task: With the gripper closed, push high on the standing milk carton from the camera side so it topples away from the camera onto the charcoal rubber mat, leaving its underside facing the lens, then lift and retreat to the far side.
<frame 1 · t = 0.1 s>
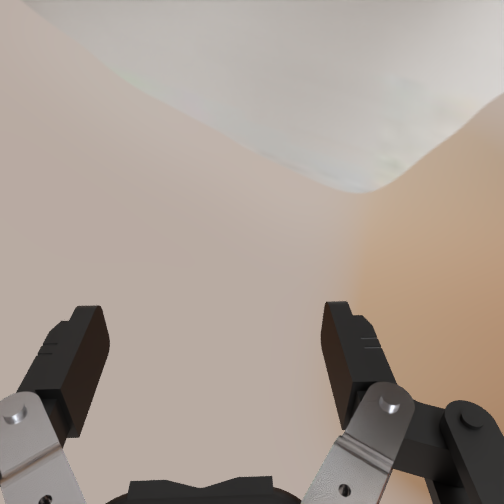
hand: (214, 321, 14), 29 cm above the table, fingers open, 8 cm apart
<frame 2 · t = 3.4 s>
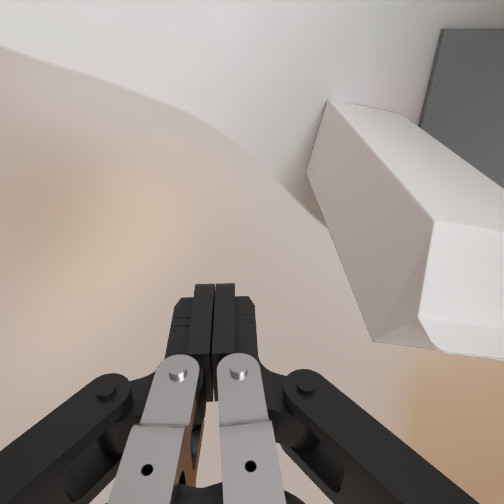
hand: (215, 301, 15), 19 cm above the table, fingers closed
milk: (351, 143, 31), on the table
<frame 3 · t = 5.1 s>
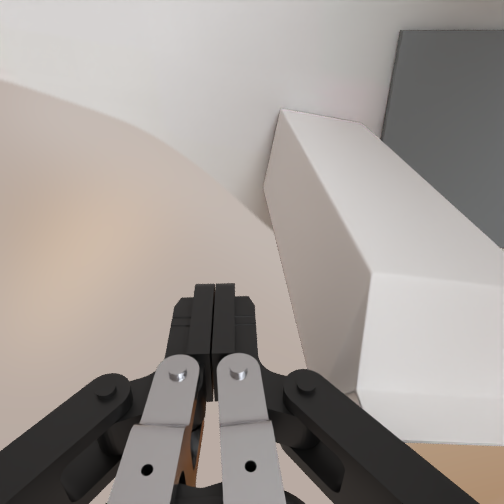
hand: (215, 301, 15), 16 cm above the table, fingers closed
milk: (310, 155, 29), on the table, touching hand
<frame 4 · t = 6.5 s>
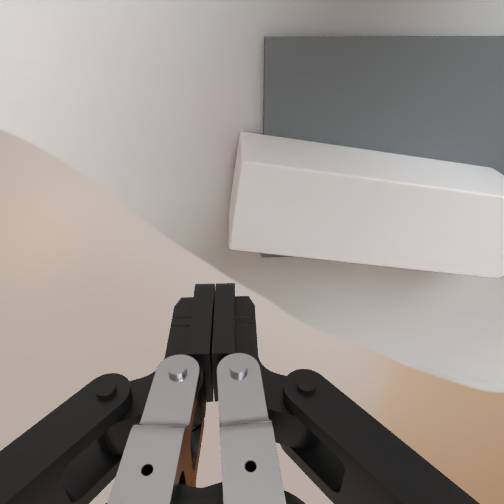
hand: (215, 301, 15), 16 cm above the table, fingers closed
milk: (231, 187, 26), point 3 cm above the table, touching mat
mat: (405, 159, 29), on the table
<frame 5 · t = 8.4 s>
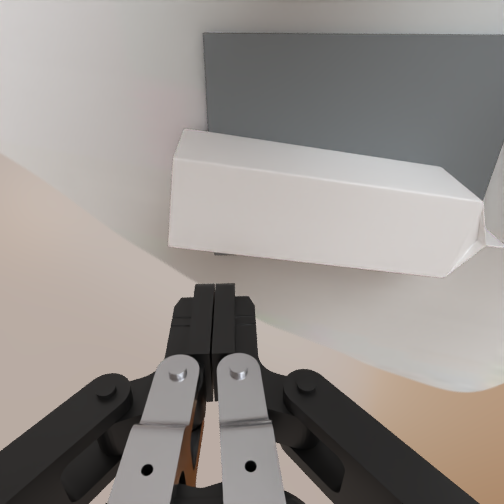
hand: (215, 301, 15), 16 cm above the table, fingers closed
milk: (172, 184, 26), point 3 cm above the table, touching mat
mat: (353, 158, 29), on the table
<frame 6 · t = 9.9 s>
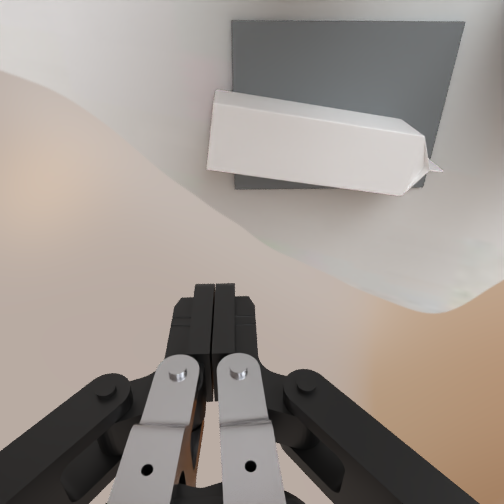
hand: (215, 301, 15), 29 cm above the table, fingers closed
milk: (208, 128, 37), point 3 cm above the table, touching mat
mat: (337, 112, 40), on the table
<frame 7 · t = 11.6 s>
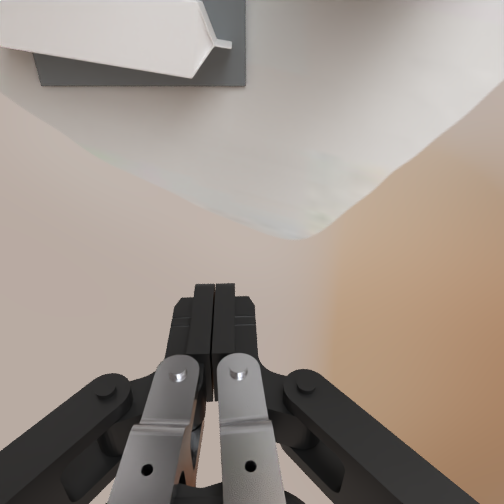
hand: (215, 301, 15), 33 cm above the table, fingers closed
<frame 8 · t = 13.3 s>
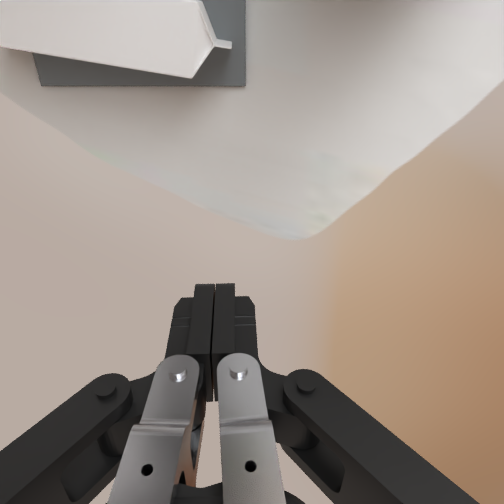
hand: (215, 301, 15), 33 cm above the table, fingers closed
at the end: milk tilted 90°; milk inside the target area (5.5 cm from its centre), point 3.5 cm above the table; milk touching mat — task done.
